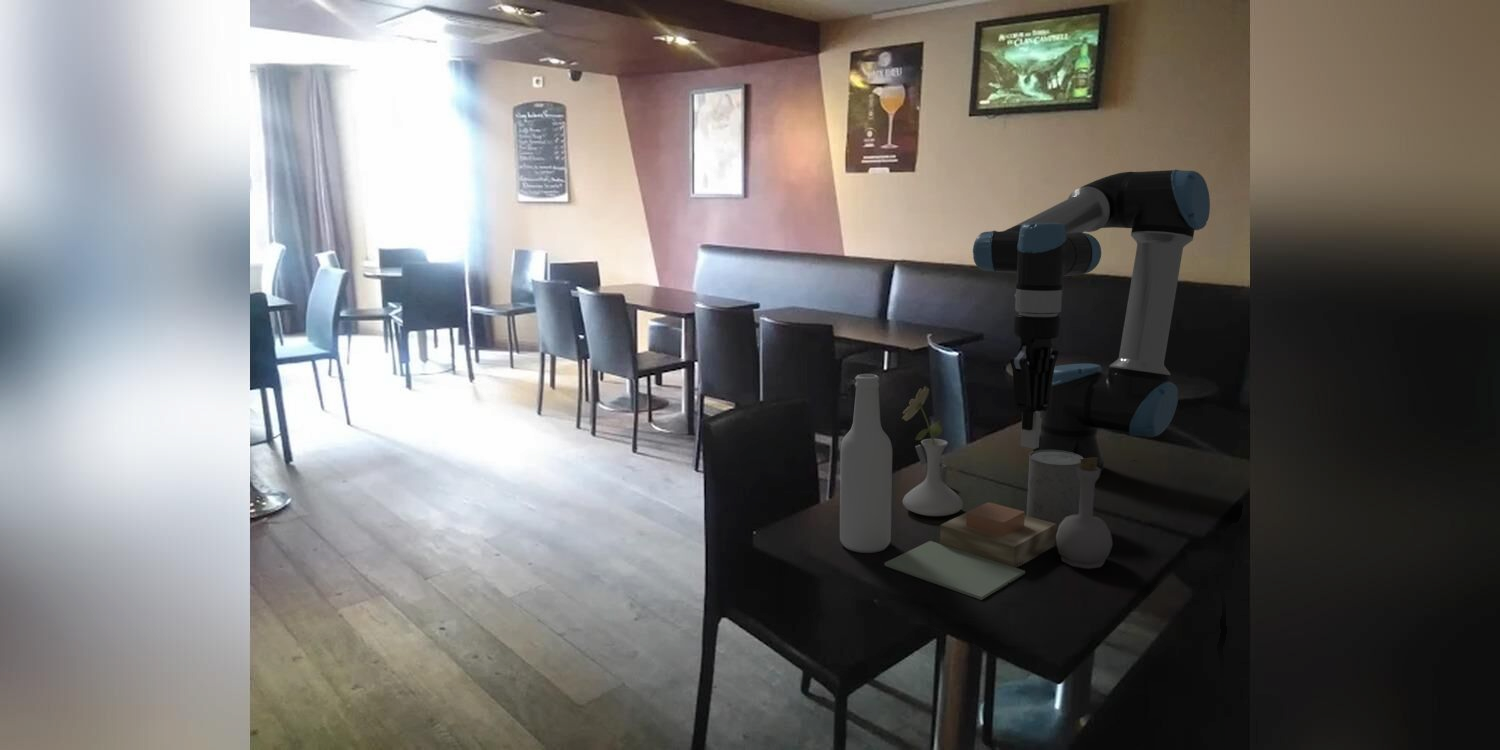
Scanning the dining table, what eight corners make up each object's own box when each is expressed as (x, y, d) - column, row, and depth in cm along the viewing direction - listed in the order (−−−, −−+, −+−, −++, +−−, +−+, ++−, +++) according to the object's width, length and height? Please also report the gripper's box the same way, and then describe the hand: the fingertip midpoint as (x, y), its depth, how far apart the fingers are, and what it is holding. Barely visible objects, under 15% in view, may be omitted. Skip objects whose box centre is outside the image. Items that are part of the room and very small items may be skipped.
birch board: (982, 525, 161) (983, 504, 160) (1054, 545, 151) (1056, 523, 150) (939, 546, 151) (940, 524, 150) (1013, 570, 141) (1014, 546, 140)
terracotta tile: (987, 515, 154) (988, 502, 154) (1024, 525, 149) (1024, 511, 149) (966, 526, 149) (966, 512, 149) (1003, 536, 145) (1003, 522, 144)
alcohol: (838, 534, 157) (839, 371, 151) (887, 534, 157) (890, 370, 151) (841, 554, 148) (842, 381, 142) (893, 554, 148) (897, 381, 142)
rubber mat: (929, 543, 152) (930, 540, 152) (1024, 573, 140) (1025, 570, 140) (884, 565, 144) (884, 562, 143) (981, 600, 131) (981, 596, 131)
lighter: (946, 485, 183) (947, 448, 181) (941, 487, 182) (942, 450, 180) (919, 477, 188) (920, 442, 186) (914, 479, 187) (915, 443, 185)
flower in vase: (931, 497, 176) (935, 375, 171) (975, 513, 167) (980, 385, 162) (883, 510, 169) (885, 384, 164) (926, 528, 159) (930, 394, 154)
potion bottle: (1082, 575, 139) (1089, 466, 135) (1043, 555, 147) (1048, 452, 143) (1123, 565, 142) (1131, 459, 139) (1082, 546, 150) (1089, 445, 147)
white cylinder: (1083, 531, 157) (1088, 466, 154) (1028, 528, 159) (1031, 463, 156) (1075, 513, 166) (1079, 450, 164) (1023, 510, 168) (1026, 448, 166)
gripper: (1035, 308, 157) (1028, 435, 161) (997, 315, 148) (991, 449, 153) (1075, 312, 152) (1067, 443, 156) (1039, 319, 143) (1031, 458, 147)
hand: (1029, 446), depth 154 cm, fingers closed
